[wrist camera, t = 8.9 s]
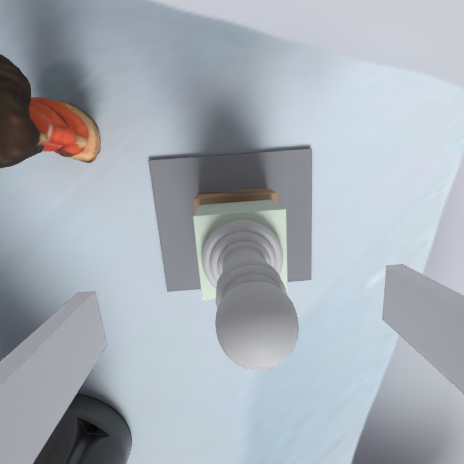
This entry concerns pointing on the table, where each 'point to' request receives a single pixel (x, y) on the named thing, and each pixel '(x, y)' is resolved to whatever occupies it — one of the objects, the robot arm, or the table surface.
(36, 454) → the robot arm
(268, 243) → the chess piece
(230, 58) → the table surface
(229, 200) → the block bottom
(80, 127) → the figurine
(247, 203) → the block top
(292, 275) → the mat
